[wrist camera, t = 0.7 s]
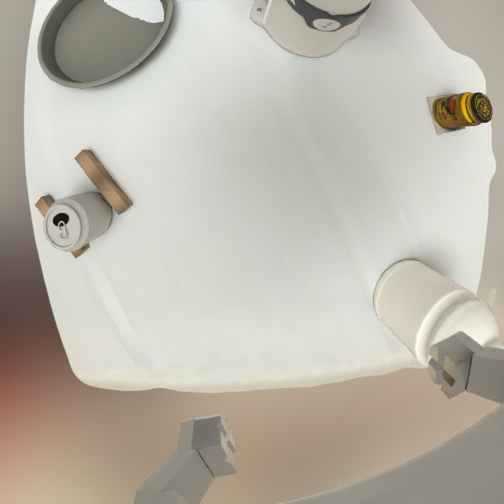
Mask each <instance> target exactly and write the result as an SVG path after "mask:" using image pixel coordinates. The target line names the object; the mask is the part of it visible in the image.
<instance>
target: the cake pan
mask: <svg viewBox="0 0 504 504" xmlns="http://www.w3.org/2000/svg"><path fill="white" fill-rule="evenodd" d="M160 1H161V3H162V5H163V9H164V22H159V23H149V22H145V21H144V20H140V19H139V18H132V17H130V16H128V15H126V14H124V13H122V12H121V11H119V10H117V9H115V8H113V7H111V6H109V5H107V3H105V2H104V0H58V1H57V3H56V4H55V5H54V6H53V8H52V9H51V11H50V12H49V14H48V15H47V17H46V19H45V21H44V23H43V26H42V28H41V31H40V35H39V39H38V58H39V62H40V65H41V67H42V69H43V71H44V72H45V74H46V75H47V76H48V77H49V78H50V79H51V80H52V81H54V82H56V83H58V84H60V85H62V86H66V87H71V88H88V87H93V86H98V85H101V84H104V83H107V82H109V81H112V80H114V79H116V78H118V77H120V76H122V75H124V74H126V73H128V72H129V71H131V70H132V69H134V68H135V67H136V66H138V65H139V64H140V63H141V62H142V61H143V60H144V59H145V58H146V57H147V56H148V55H149V54H150V53H151V52H152V51H153V50H154V49H155V47H156V46H157V45H158V43H159V42H160V40H161V39H162V38H163V36H164V34H165V32H166V30H167V28H168V26H169V23H170V20H171V17H172V11H173V0H160Z"/></svg>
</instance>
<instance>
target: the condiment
mask: <svg viewBox="0 0 504 504" xmlns="http://www.w3.org/2000/svg"><path fill="white" fill-rule="evenodd" d="M427 100H428V103H429V107H430V111H431V114H432V118H433V121H434V124H435V127H436V131H437V134H442V133H446V132H451V131H455V130H460V129H465V127H466V126H477V125H479V124H480V123H487V122H489V121H490V120H491V118H492V106H491V103H490V101H489V99H488V98H487V97H486V95H484V94H482V93H479V92H478V93H470V92H466V93H461V94H451V95H443V96H435V97H428V98H427Z"/></svg>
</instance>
